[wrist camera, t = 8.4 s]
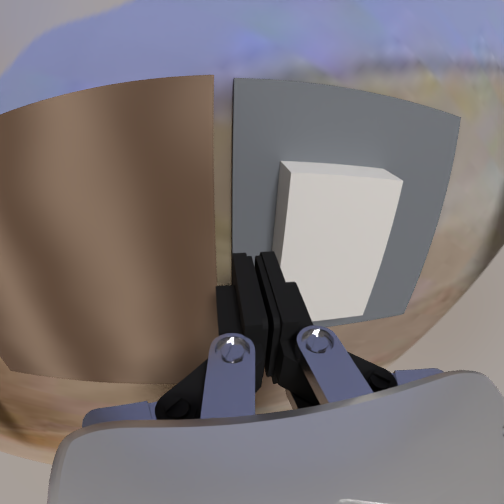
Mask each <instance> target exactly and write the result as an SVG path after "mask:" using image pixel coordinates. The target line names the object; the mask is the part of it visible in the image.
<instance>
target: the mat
mask: <svg viewBox="0 0 504 504" xmlns="http://www.w3.org/2000/svg"><path fill="white" fill-rule="evenodd" d="M460 119H461V117H458V116H455V115H452V114H449V113H447V112H443V111H440V110H437V109H434V108H431V107H427V106H424V105H421V104H417V103H413V102H410V101H406V100H402V99H398V98H394V97H390V96H385V95H381V94H376V93H371V92H366V91H361V90H356V89H350V88H344V87H338V86H331V85H324V84H316V83H307V82H297V81H286V80H272V79H249V78H234V95H233V151H232V253H246V254H247V256H252V259H253V263H254V265H255V256H259V255H260V252H269V251H272V245H273V235H274V225H275V215H276V204H277V193H278V182H279V171H280V161H296V162H314V163H329V164H342V165H353V166H363V167H373V168H382V169H385V170H386V171H388V172H390V173H391V174H393V175H395V176H396V177H398V178H399V179H401V180H403V184H402V189H401V193H400V197H399V201H398V205H397V209H396V213H395V217H394V221H393V224H392V228H391V232H390V235H389V239H388V242H387V245H386V249H385V252H384V255H383V258H382V262H381V265H380V268H379V271H378V274H377V277H376V280H375V283H374V286H373V288H372V291H371V294H370V297H369V300H368V302H367V305H366V308H365V310H364V313H363V315H360V316H353V317H345V318H337V319H329V320H320V321H312V323H313V325H317V326H323V327H330V326H337V325H343V324H350V323H356V322H362V321H368V320H374V319H380V318H385V317H391V316H396V315H401V314H404V312H405V309H406V307H407V305H408V303H409V300H410V298H411V295H412V293H413V291H414V288H415V286H416V283H417V281H418V278H419V276H420V273H421V270H422V268H423V265H424V262H425V260H426V257H427V254H428V251H429V248H430V245H431V242H432V239H433V236H434V233H435V230H436V227H437V223H438V220H439V217H440V213H441V210H442V206H443V202H444V199H445V195H446V191H447V187H448V183H449V179H450V174H451V170H452V165H453V160H454V155H455V150H456V145H457V139H458V133H459V126H460Z"/></svg>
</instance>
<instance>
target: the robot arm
mask: <svg viewBox="0 0 504 504" xmlns="http://www.w3.org/2000/svg"><path fill="white" fill-rule="evenodd" d="M216 305H217V320H218V333H219V337H217V338H215V339H214V341H213V342H212V343H211V346H210V349H209V356H208V359H206V360H205V361H204V362H203V363H202V364H201V365H199V366H198V367H197V368H196V369H195V370H193V371H192V372H191V373H190V374H189V375H188V376H186V377H185V378H184V379H183V380H181V381H180V382H179V383H178V384H177V385H175V386H174V387H173V388H172V389H171V390H169V391H168V392H167V393H166V394H164V395H163V396H162V397H161V398H160V399H159V400H158V401H157V402H153V403H148V402H147V401H143V402H138V403H132V404H126V405H119V406H113V407H105V408H98V409H94V410H91V411H90V412H89V413H87V414H86V415H85V417H84V419H83V424H82V428H81V429H78V430H76V431H74V432H72V433H70V434H69V435H67V436H66V437H65V438H64V439H63V440H62V442H61V443H60V445H59V447H58V449H57V451H56V454H55V457H54V461H53V465H52V469H51V475H50V480H49V489H48V501H47V504H504V397H503V396H502V394H501V393H500V391H499V390H498V388H497V387H496V386H495V384H494V383H493V382H492V381H491V380H490V379H489V378H488V377H487V376H486V375H484V374H482V373H479V372H476V371H466V370H459V371H458V370H457V371H448V372H443V371H442V370H439V369H435V368H429V369H415V370H397V371H394V373H390V372H389V371H387V370H386V369H384V368H382V367H379V366H377V365H375V364H373V363H371V362H368V361H366V360H364V359H362V358H360V357H358V356H355V355H353V354H351V353H349V352H347V351H346V349H345V348H344V346H343V345H342V343H341V342H340V340H339V339H338V337H337V336H336V335H335V333H334V332H333V331H331V330H330V329H328V328H326V327H323V326H317V325H313V323H312V320H311V318H310V315H309V313H308V310H307V308H306V305H305V303H304V300H303V298H302V296H301V293H300V291H299V288H298V286H297V284H296V282H286V281H285V279H284V276H283V273H282V271H281V268H280V265H279V263H278V260H277V257H276V255H275V252H274V251H269V252H260V255H259V256H255V265H254V263H253V259H252V256H247V254H246V253H232V285H230V286H216ZM264 367H265V372H266V376H267V377H269V376H271V377H272V381H273V384H276V383H278V385H280V386H282V387H283V388H285V391H286V395H287V398H288V400H289V402H290V404H291V406H292V409H293V410H288V411H281V412H274V413H266V414H257V415H255V393H256V392H257V391H258V390H259V388H260V387H261V384H262V377H263V373H264Z"/></svg>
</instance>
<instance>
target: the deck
mask: <svg viewBox="0 0 504 504" xmlns="http://www.w3.org/2000/svg"><path fill="white" fill-rule="evenodd" d="M213 101H214V75H197V76H179V77H166V78H156V79H147V80H139V81H131V82H124V83H118V84H112V85H106V86H101V87H96V88H91V89H86V90H81V91H77V92H72V93H68V94H64V95H60V96H57V97H53V98H49V99H46V100H42V101H39V102H36V103H32V104H29V105H26V106H23V107H20V108H17V109H14V110H11V111H9V112H6V113H3V114H1V115H0V357H1V358H2V359H3V361H4V362H5V364H6V365H7V366H8V368H9V369H10V370H11V371H15V372H21V373H27V374H33V375H39V376H46V377H54V378H62V379H71V380H82V381H94V382H109V383H133V384H178V383H179V382H180V381H181V380H183V379H184V378H185V377H186V376H188V375H189V374H190V373H191V372H192V371H193V370H195V369H196V368H197V367H198V366H199V365H201V364H202V363H203V362H204V361H205V360H206V359H208V356H209V349H210V346H211V343H212V342H213V341H214V339H215V338H217V337H219V333H218V320H217V305H216V286H217V270H216V245H215V214H214V159H213Z"/></svg>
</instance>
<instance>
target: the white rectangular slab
mask: <svg viewBox="0 0 504 504" xmlns="http://www.w3.org/2000/svg"><path fill="white" fill-rule="evenodd" d="M402 184H403V180H401V179H399V178H398V177H396V176H395V175H393V174H391V173H390V172H388V171H386V170H385V169H382V168H373V167H363V166H353V165H342V164H329V163H314V162H296V161H280V171H279V182H278V193H277V204H276V215H275V225H274V235H273V245H272V251H274V252H275V255H276V257H277V260H278V263H279V265H280V268H281V271H282V273H283V276H284V279H285V281H286V282H296V284H297V286H298V288H299V291H300V293H301V296H302V298H303V300H304V303H305V305H306V308H307V310H308V313H309V315H310V318H311V320H312V321H320V320H329V319H337V318H345V317H353V316H360V315H363V313H364V310H365V308H366V305H367V302H368V300H369V297H370V294H371V291H372V288H373V286H374V283H375V280H376V277H377V274H378V271H379V268H380V265H381V262H382V258H383V255H384V252H385V249H386V245H387V242H388V239H389V235H390V232H391V228H392V224H393V221H394V217H395V213H396V209H397V205H398V201H399V197H400V193H401V189H402Z"/></svg>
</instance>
